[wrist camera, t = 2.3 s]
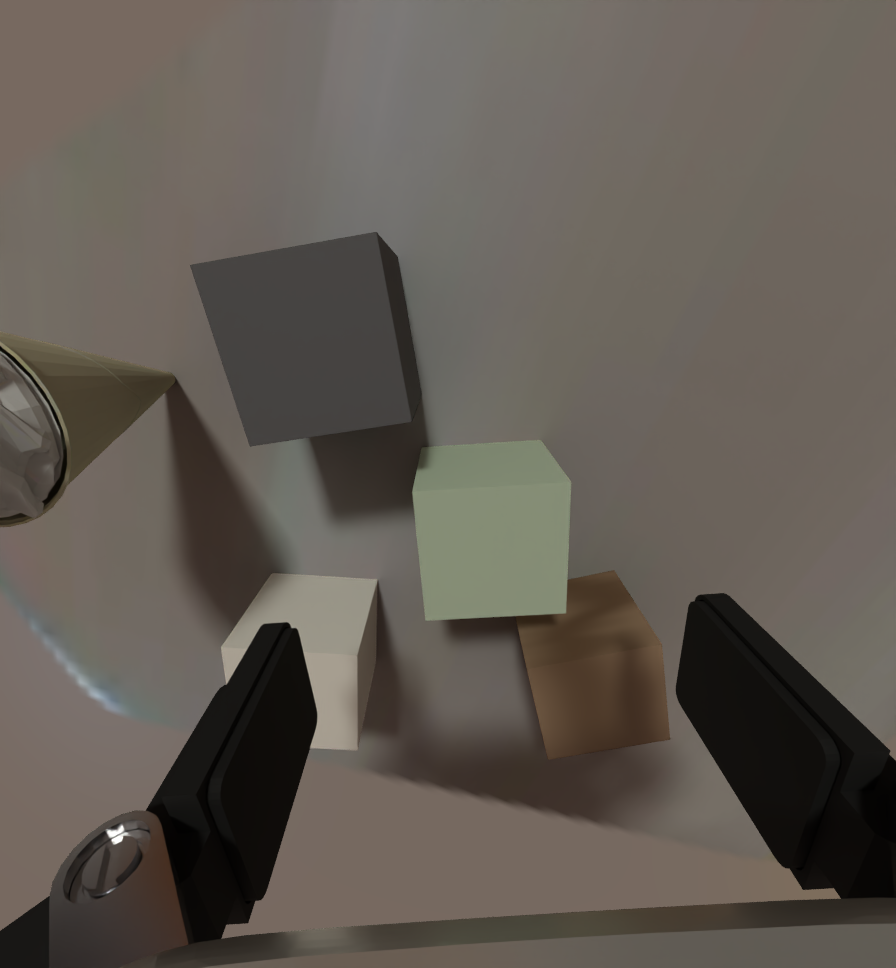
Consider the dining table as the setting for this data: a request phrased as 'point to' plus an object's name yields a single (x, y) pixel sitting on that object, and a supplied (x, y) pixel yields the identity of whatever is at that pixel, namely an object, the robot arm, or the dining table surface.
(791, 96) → the dining table surface
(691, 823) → the dining table surface
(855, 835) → the robot arm
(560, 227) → the dining table surface
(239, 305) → the black block
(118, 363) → the ice cream cone
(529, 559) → the sage block
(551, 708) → the walnut block
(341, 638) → the offwhite block
